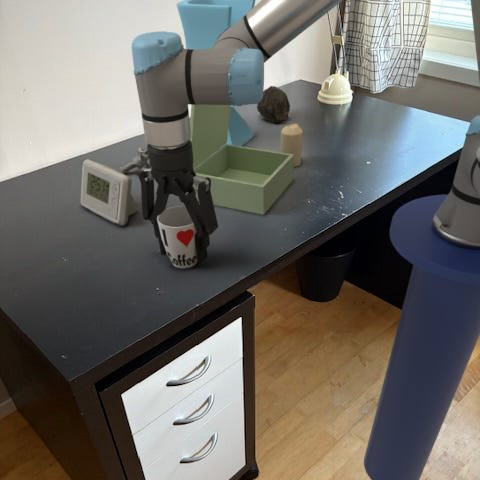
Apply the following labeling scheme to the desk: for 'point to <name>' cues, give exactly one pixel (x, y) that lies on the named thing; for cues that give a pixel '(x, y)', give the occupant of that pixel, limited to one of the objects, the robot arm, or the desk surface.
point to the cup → (178, 236)
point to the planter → (205, 35)
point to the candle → (292, 142)
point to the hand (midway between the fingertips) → (184, 256)
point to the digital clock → (106, 192)
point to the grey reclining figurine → (137, 161)
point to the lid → (208, 130)
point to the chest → (246, 177)
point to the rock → (274, 105)
